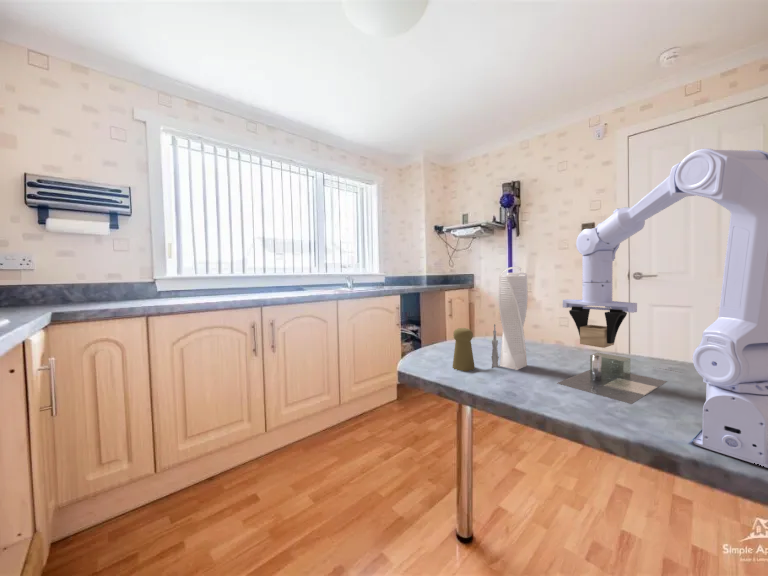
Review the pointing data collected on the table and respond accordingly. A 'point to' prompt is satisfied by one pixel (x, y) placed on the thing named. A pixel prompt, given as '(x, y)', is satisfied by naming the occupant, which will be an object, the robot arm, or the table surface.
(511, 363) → the skyscraper
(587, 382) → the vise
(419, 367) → the table surface
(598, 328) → the wooden box
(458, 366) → the cork
